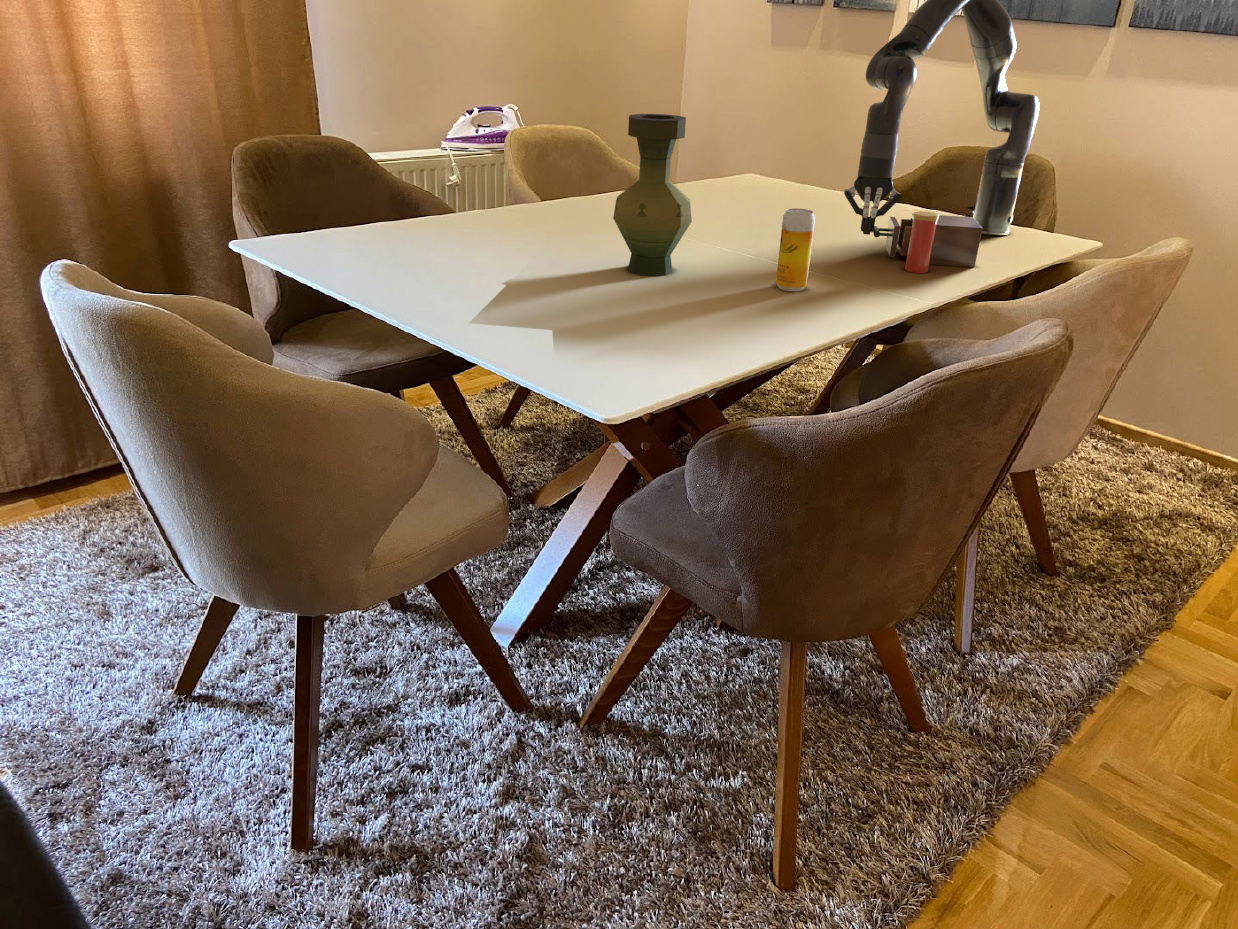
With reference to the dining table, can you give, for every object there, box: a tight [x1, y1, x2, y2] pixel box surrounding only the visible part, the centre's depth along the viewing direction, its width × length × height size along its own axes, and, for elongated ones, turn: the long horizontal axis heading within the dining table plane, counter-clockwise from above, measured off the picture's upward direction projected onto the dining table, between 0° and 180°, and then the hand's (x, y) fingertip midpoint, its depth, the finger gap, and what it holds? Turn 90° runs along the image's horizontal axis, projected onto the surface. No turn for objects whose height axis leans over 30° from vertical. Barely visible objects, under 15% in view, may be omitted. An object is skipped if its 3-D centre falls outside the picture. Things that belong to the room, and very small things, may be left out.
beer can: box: [775, 207, 816, 292], centre depth 180 cm, size 6×6×15 cm
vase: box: [612, 113, 693, 277], centre depth 186 cm, size 16×16×30 cm
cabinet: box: [910, 213, 983, 268], centre depth 207 cm, size 14×12×9 cm
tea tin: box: [904, 210, 940, 274], centre depth 197 cm, size 5×5×12 cm
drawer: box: [872, 216, 913, 258], centre depth 208 cm, size 16×10×7 cm, turn 81°
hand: (866, 233), depth 209 cm, fingers closed
